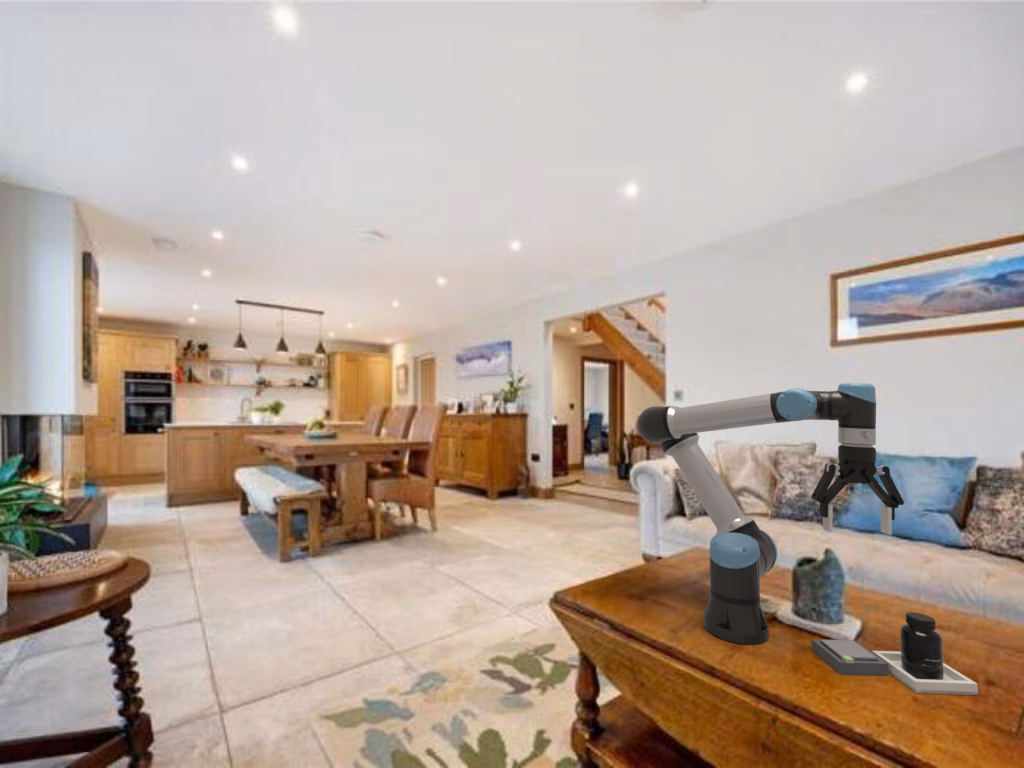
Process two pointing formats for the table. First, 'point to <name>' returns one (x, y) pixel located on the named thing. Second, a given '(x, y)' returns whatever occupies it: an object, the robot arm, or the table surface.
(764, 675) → the table surface
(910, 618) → the supplement bottle
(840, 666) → the grey square framed panel
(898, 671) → the dish
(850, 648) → the grey square tile
